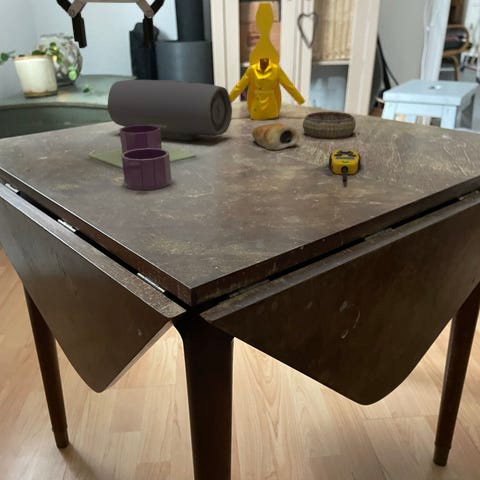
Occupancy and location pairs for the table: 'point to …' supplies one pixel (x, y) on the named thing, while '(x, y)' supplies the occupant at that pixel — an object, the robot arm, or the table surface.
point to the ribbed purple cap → (146, 169)
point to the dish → (140, 137)
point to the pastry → (275, 136)
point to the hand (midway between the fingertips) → (115, 47)
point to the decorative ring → (329, 124)
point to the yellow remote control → (344, 162)
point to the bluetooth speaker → (171, 107)
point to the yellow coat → (264, 73)
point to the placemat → (116, 158)
